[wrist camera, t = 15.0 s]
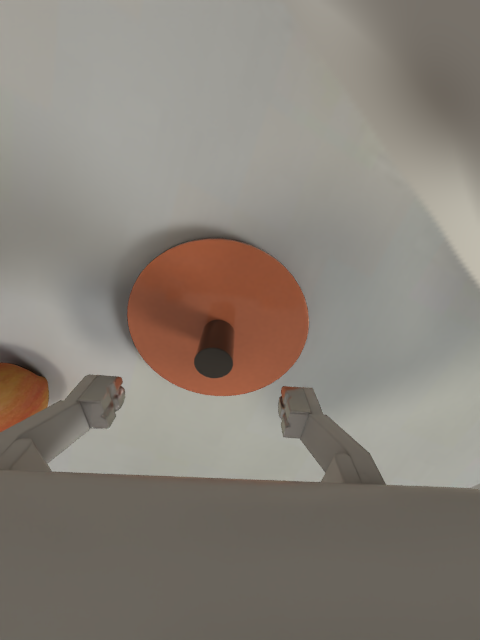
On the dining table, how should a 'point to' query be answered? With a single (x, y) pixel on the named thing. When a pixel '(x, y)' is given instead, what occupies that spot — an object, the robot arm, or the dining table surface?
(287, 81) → the dining table surface
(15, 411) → the apple
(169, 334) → the bowl lid
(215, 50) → the dining table surface
